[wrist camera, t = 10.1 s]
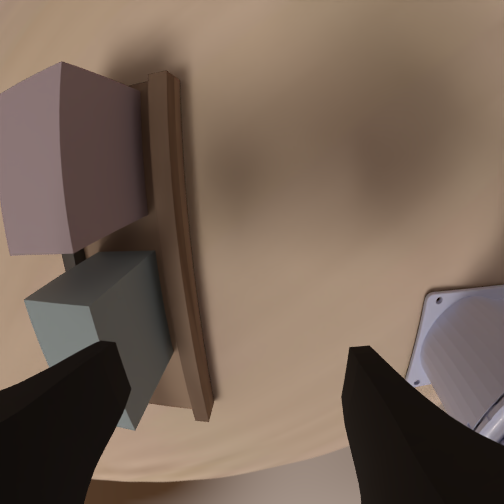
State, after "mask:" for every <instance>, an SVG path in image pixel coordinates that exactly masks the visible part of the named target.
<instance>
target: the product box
mask: <svg viewBox="0 0 504 504" xmlns="http://www.w3.org/2000/svg"><path fill="white" fill-rule="evenodd" d="M24 302H25V305H26V308H27V311H28V314H29V317H30V320H31V323H32V325H33V328H34V331H35V334H36V336H37V339H38V341H39V344H40V346H41V349H42V351H43V354H44V356H45V358H46V361H47V363H48V365H49V367H52V366H53V365H55V364H57V363H59V362H60V361H62V360H64V359H66V358H68V357H69V356H71V355H73V354H75V353H77V352H78V351H80V350H82V349H84V348H86V347H88V346H90V345H92V344H94V343H96V342H98V341H100V340H102V341H110V342H116V345H117V348H118V351H119V354H120V357H121V360H122V363H123V366H124V369H125V372H126V375H127V378H128V380H129V383H130V386H131V392H130V395H129V398H128V401H127V404H126V407H125V409H124V412H123V414H122V416H121V418H120V420H119V422H118V424H117V427H121V428H126V429H130V430H136V428H137V426H138V424H139V422H140V419H141V417H142V415H143V413H144V411H145V409H146V407H147V405H148V403H149V401H150V399H151V397H152V395H153V393H154V391H155V389H156V387H157V385H158V383H159V381H160V379H161V377H162V375H163V373H164V371H165V369H166V367H167V365H168V363H169V361H170V359H171V357H172V355H173V353H174V352H173V347H172V343H171V338H170V333H169V328H168V323H167V318H166V313H165V308H164V302H163V296H162V291H161V285H160V279H159V272H158V266H157V259H156V252H155V250H152V251H114V252H97V253H96V254H94V255H92V256H91V257H89V258H88V259H86V260H84V261H83V262H81V263H79V264H78V265H76V266H75V267H73V268H71V269H70V270H68V271H67V272H65V273H63V274H62V275H60V276H59V277H57V278H56V279H54V280H53V281H51V282H49V283H48V284H46V285H45V286H43V287H42V288H40V289H39V290H37V291H36V292H34V293H33V294H31V295H30V296H29V297H27V298H26V299H24Z"/></svg>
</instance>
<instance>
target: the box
mask: <svg viewBox="0 0 504 504" xmlns="http://www.w3.org/2000/svg"><path fill="white" fill-rule="evenodd" d="M0 201H1V208H2V215H3V222H4V227H5V233H6V238H7V243H8V248H9V253H10V256H12V255H42V254H73V253H75V252H77V251H79V250H81V249H83V248H84V247H86V246H88V245H90V244H92V243H94V242H96V241H98V240H99V239H101V238H103V237H105V236H107V235H109V234H111V233H113V232H115V231H117V230H119V229H121V228H123V227H125V226H127V225H129V224H131V223H133V222H135V221H137V220H139V219H141V218H143V217H145V216H147V215H148V208H147V198H146V188H145V177H144V164H143V150H142V131H141V100H140V91H139V90H136V89H134V88H131V87H129V86H127V85H124V84H122V83H119V82H117V81H114V80H112V79H109V78H107V77H104V76H101V75H99V74H96V73H93V72H91V71H88V70H85V69H82V68H80V67H77V66H74V65H71V64H68V63H65V62H62V61H61V62H59V63H57V64H55V65H53V66H50V67H48V68H46V69H44V70H42V71H40V72H38V73H36V74H34V75H32V76H30V77H29V78H27V79H25V80H23V81H21V82H19V83H18V84H16V85H14V86H12V87H11V88H9V89H7V90H6V91H4V92H2V93H1V94H0Z"/></svg>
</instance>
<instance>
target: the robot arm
mask: <svg viewBox="0 0 504 504" xmlns="http://www.w3.org/2000/svg"><path fill="white" fill-rule="evenodd" d="M439 297H440V299H439V300H438V301H437V302H436V300H437V299H438V298H439ZM415 381H416V382H415ZM428 384H432V386H433V388H434V389H435V391H436V393H437V395H438V397H439V399H440V400H441V402H442V404H443V406H444V408H445V410H446V411H447V413H445V412H444V411H443V410H441V409H440V408H439V407H437V406H436V405H435V404H433V403H432V402H431V401H430V400H428V399H427V398H426V397H425V396H423V395H422V394H421V393H420V392H419V391H417V390H416V389H415V388H414V387H417V386H423V385H428ZM130 392H131V386H130V383H129V380H128V378H127V375H126V372H125V369H124V366H123V363H122V360H121V357H120V354H119V351H118V348H117V345H116V342H110V341H102V340H100V341H98V342H96V343H94V344H92V345H90V346H88V347H86V348H84V349H82V350H80V351H78V352H77V353H75V354H73V355H71V356H69V357H68V358H66V359H64V360H62V361H60V362H59V363H57V364H55V365H53V366H52V367H50V368H48V369H46V370H44V371H42V372H40V373H38V374H36V375H34V376H32V377H30V378H28V379H26V380H25V381H22V382H20V383H18V384H16V385H13V386H11V387H8V388H6V389H3V390H1V391H0V504H84V501H85V497H86V493H87V490H88V487H89V484H90V481H91V478H92V475H93V472H94V470H95V468H96V465H97V463H98V461H99V459H100V457H101V455H102V453H103V451H104V449H105V447H106V445H107V443H108V441H109V440H110V438H111V436H112V434H113V432H114V430H115V428H116V426H117V424H118V422H119V420H120V418H121V416H122V414H123V412H124V409H125V407H126V404H127V401H128V398H129V395H130ZM341 398H342V406H343V415H344V423H345V428H346V432H347V436H348V440H349V445H350V449H351V453H352V457H353V461H354V465H355V469H356V474H357V478H358V482H359V488H360V494H361V504H504V285H496V286H487V287H479V288H469V289H460V290H449V291H438V292H431V293H429V294H428V295H427V296H426V298H425V301H424V306H423V311H422V316H421V321H420V325H419V330H418V334H417V338H416V342H415V346H414V350H413V354H412V357H411V361H410V364H409V368H408V371H407V375H406V378H405V379H404V378H403V377H402V376H401V375H400V374H398V373H397V372H396V371H395V370H394V369H393V368H392V367H391V366H390V365H389V364H388V363H387V362H386V361H385V360H384V359H383V358H382V357H381V356H380V355H379V354H378V353H377V352H376V351H375V350H374V349H372V348H371V347H370V346H359V347H349V354H348V361H347V367H346V373H345V379H344V385H343V391H342V396H341Z"/></svg>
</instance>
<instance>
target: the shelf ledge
mask: <svg viewBox="0 0 504 504" xmlns="http://www.w3.org/2000/svg"><path fill="white" fill-rule="evenodd" d="M129 87H131V88H134V89H136V90H139V91H140V100H141V131H142V150H143V164H144V177H145V188H146V198H147V208H148V215H147V216H145V217H143V218H141V219H139V220H137V221H135V222H133V223H131V224H129V225H127V226H125V227H123V228H121V229H119V230H117V231H115V232H113V233H111V234H109V235H107V236H105V237H103V238H101V239H99V240H98V241H96V242H94V243H92V244H90V245H88V246H86V247H84V248H83V249H81V250H79V251H77V252H75V253H73V254H62V258H63V262H64V267H65V271H66V272H67V271H68V270H70V269H71V268H73V267H75V266H76V265H78V264H79V263H81V262H83V261H84V260H86V259H88V258H89V257H91V256H92V255H94V254H96V253H97V252H114V251H152V250H155V252H156V259H157V266H158V272H159V279H160V285H161V291H162V296H163V302H164V308H165V313H166V318H167V323H168V328H169V333H170V338H171V343H172V347H173V352H174V353H173V355H172V357H171V359H170V361H169V363H168V365H167V367H166V369H165V371H164V373H163V375H162V377H161V379H160V381H159V383H158V385H157V387H156V389H155V391H154V393H153V395H152V397H151V399H150V401H149V403H150V404H157V405H164V406H171V407H180V408H189V409H192V410H193V414H194V417H195V421H204V422H209V419H210V415H211V412H212V408H213V404H214V398H213V393H212V388H211V382H210V376H209V371H208V365H207V359H206V353H205V347H204V340H203V334H202V327H201V321H200V314H199V307H198V299H197V292H196V284H195V276H194V268H193V259H192V251H191V241H190V232H189V222H188V211H187V200H186V188H185V175H184V161H183V145H182V126H181V102H180V80H179V79H177V78H176V77H175V76H173V75H172V74H171V73H169V72H168V71H162V72H157V73H152V74H148V82H143V83H139V84H135V85H130V86H129Z"/></svg>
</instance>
